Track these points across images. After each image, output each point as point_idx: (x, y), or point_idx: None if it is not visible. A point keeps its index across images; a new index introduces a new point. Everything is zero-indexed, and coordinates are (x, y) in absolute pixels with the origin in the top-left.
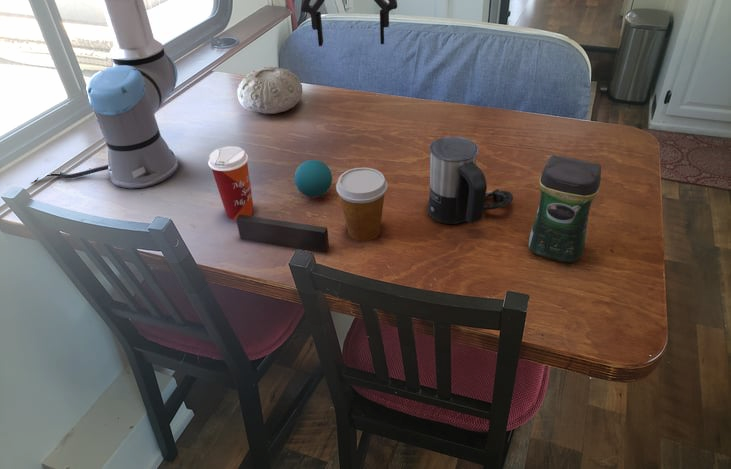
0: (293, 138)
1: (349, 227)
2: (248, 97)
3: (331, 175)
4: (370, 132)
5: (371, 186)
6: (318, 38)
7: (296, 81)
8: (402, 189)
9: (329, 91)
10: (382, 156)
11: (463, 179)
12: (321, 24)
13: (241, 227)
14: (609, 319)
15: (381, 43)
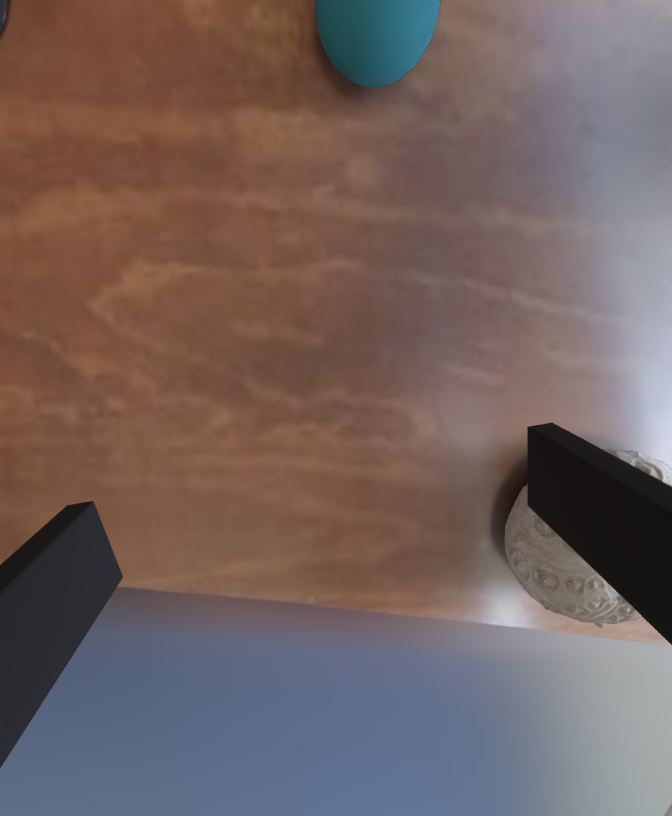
0: (486, 357)
1: None
2: (662, 469)
3: (317, 8)
4: (286, 415)
5: None
6: (588, 444)
7: (537, 565)
8: (118, 102)
9: (436, 603)
10: (223, 289)
11: None
12: (627, 584)
13: None
14: None
15: (82, 504)
